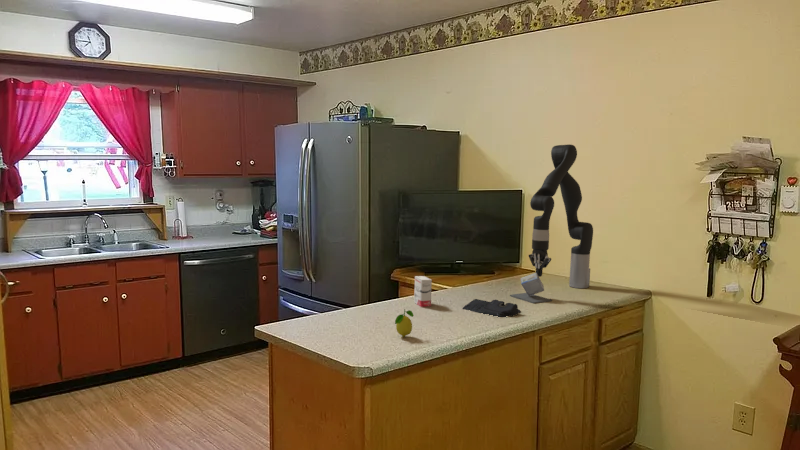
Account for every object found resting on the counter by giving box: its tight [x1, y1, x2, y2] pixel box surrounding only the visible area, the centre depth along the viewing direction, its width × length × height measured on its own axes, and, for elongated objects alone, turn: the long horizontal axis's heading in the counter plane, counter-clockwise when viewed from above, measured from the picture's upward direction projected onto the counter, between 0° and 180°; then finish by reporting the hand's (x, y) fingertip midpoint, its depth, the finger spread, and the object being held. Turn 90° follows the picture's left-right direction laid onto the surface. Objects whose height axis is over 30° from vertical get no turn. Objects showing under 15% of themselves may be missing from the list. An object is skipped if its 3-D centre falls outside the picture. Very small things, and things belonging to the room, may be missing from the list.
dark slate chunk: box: [462, 298, 522, 318], centre depth 241 cm, size 15×22×5 cm
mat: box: [509, 292, 553, 304], centre depth 265 cm, size 11×16×1 cm
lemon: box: [394, 309, 414, 338], centre depth 201 cm, size 7×6×10 cm
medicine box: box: [520, 272, 545, 296], centre depth 265 cm, size 8×4×9 cm
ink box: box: [413, 275, 433, 308], centre depth 248 cm, size 8×5×12 cm, turn 20°
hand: (538, 276), depth 266 cm, fingers closed
